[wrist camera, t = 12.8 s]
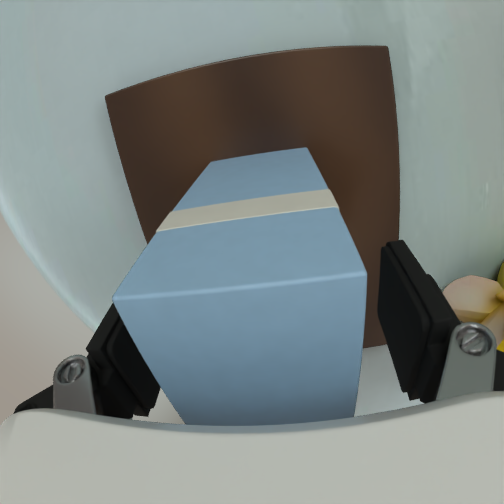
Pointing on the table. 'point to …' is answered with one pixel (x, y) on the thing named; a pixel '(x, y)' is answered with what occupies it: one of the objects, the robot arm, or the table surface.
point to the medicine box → (251, 297)
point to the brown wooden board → (272, 136)
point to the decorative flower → (479, 302)
